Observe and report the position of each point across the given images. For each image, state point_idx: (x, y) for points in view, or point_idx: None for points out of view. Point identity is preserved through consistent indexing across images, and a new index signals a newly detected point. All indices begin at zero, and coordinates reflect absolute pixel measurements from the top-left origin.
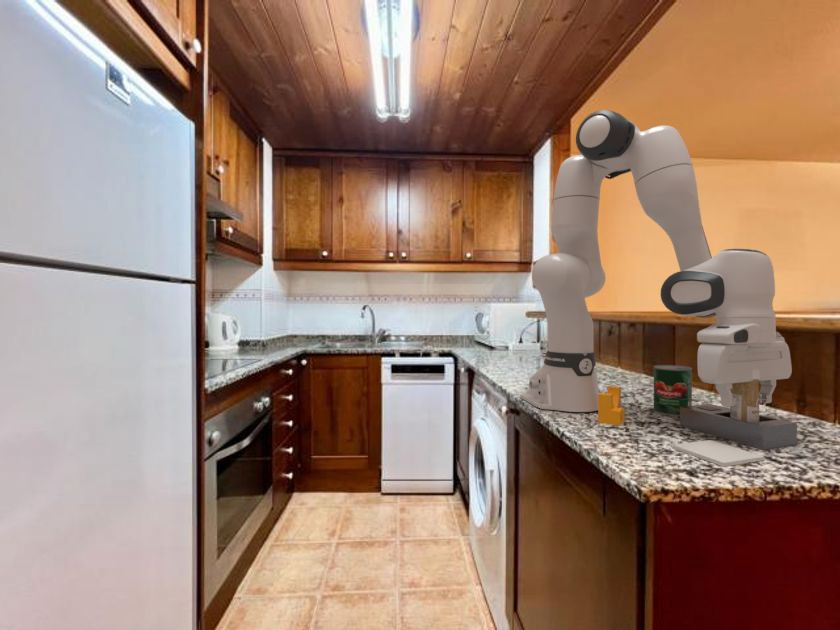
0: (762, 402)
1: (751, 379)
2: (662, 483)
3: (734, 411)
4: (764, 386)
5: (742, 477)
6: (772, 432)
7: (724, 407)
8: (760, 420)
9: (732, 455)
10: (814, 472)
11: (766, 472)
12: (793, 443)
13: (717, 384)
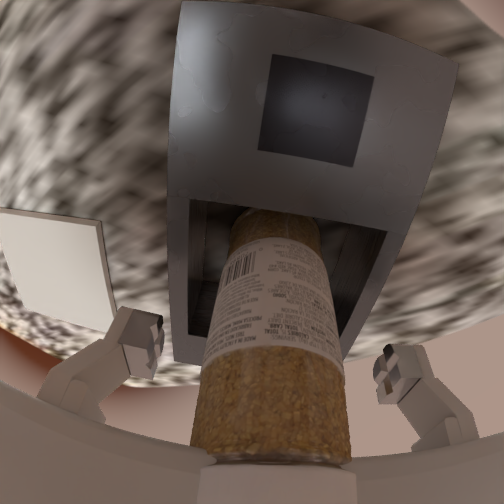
0: (380, 358)
1: None
2: None
3: (216, 297)
4: (435, 416)
5: (31, 328)
6: None
7: (426, 153)
8: (348, 297)
9: (61, 304)
10: None
11: (75, 342)
12: None
13: (45, 394)
